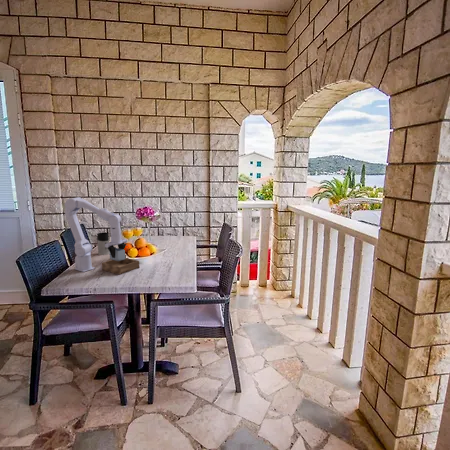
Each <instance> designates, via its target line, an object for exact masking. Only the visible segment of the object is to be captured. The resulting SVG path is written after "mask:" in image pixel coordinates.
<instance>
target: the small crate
mask: <svg viewBox="0 0 450 450" xmlns="http://www.w3.org/2000/svg"><path fill="white" fill-rule="evenodd" d="M109 253H110V251H109ZM124 259H125V250H124V249H119V248H118V247H116V249H115V258H112V256H111V253H110V254H109V260H116V261H121V260H124Z"/></svg>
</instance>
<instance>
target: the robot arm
mask: <svg viewBox="0 0 450 450" xmlns="http://www.w3.org/2000/svg"><path fill="white" fill-rule="evenodd" d="M64 207H65V208H64V209H65V211H64V216H65V218H66V220H67V222H68V225H69V228H70V231H71V233H72V236H73V238H74V242H75V243H74V245H73V246H74V253H75V257H74V264H75V265H74V266H75V268H74V270H75V271H78V272H83V273H84V272H87V271H88V272H89V271H91V270H94V269H96V267H94V266H92V265H93V264H92V253H91V252H92V251H93V246H92V244H91V243H90V241H89V240H88V239H86V237H85V234H84V231H83V230H82V226H81V224H80V221H79V219H78V216H77V213H78V211H80V210H81V209H87V210H88V211H91V212H92V213H94V214H95V213H96V214H97V217H98V218H100V219H102V220H104V221H106V222H108V224H109V229H110V236H111V237H110V241H109V243H107V244H105V247H107V248H108V250H109V251H110V253H111V256H112V258H115V249H116V248H119V249H124V248H125V246H127V243H128V239H122V230H121V229H122V227H121V222H122V216H121V215H120V214H119V213H115V212H112V211H109V210H108V208H106V207H103V208H101V207H100V208H99V207H98V206H97V205H94V204H93V203H91V202H90V201H88V200H87V199H84V198H82V197H80V196H78V197H72V198H68V199H66V201H65V203H64ZM116 246H117V247H116Z"/></svg>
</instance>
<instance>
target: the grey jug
mask: <svg viewBox="0 0 450 450" xmlns="http://www.w3.org/2000/svg"><path fill="white" fill-rule="evenodd" d="M96 235H97V237H96V239H97V255H99V256H107V255H110V253H109V250H108V248H107V247H105V244H107V243H109V242H111V235H109V232H105V231H104V232H97V234H96ZM106 254H107V255H106Z"/></svg>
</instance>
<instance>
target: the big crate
mask: <svg viewBox="0 0 450 450" xmlns="http://www.w3.org/2000/svg"><path fill="white" fill-rule="evenodd" d="M138 269H140V260H137V259H134V258H133V259H128V258H125V259H124V260H121V261H116V260H111V259H109V260H107V261H104V262H101V270H102V271H105V272H107V273H108V272H109V273H111V274H116V275H123V274H126V273H129V272H133V271H134V270H138Z"/></svg>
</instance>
